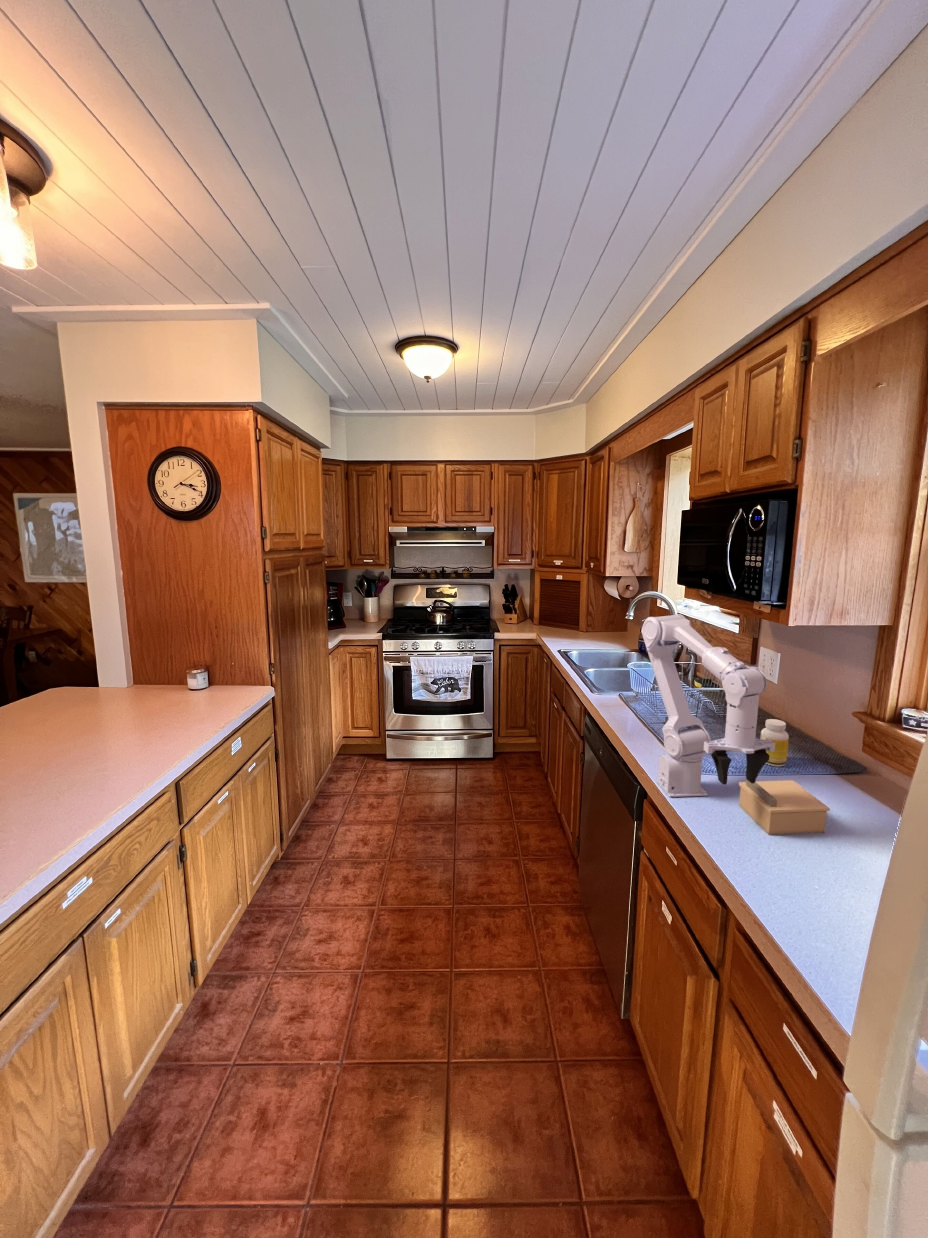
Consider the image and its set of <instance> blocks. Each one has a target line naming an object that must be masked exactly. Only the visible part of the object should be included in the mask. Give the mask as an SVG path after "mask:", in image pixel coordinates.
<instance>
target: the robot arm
mask: <svg viewBox="0 0 928 1238" xmlns="http://www.w3.org/2000/svg"><path fill="white" fill-rule="evenodd" d="M640 632H641V634H642V638H643V642H644V644H645V648H646V650H647V653H648V657H649V660H650V663H651V667H652V670H653V673H654V677H655V679H656V683H657V685H658V689H659V692H660V696H661V698H662V701H663V706H664V708H665V711H666V714H667V718H668V720H667V721H666V722H665V724H664V725H663V726H662V728H661V732H662V735H663V745H664V746H663V747H664V749H665V751H666V753H667V754H662V755H661V756H660V757H659V760H658V774H657V778H656V782H657V784H658V785H659V786H660V787H661V788H662V790H663V791H664V792H665V793H666V795H668V797H671V798H676V797H678V798H681V797H702V796H703V797H705V796H708V792H707V791H706V790H704V788H703V787H702V786H701V785H702V784H701V783H702V768H703V767H702V766H703V758H704V757H705V756H706V753H707V754H708V755H710V756H711V758H712V759H713V763H714V766H715V770H716V773H717V780H718V781H719V782H720V783H721V784H722V785H727V783H728V775H729V774H728V773H729V768H730V764H731V763H732V759H731V758H730V757H729V756H728V753H729V752H730V753H731V752H741V753H744V754H745V756H746V757H745V758H746V766H745V767H746V768H745V769H746V770H745V779H746V780H748V781H749V782H751V783H755V782H757V781H756V780H757V778H758V776H759V773H760V772H761V770H762V768H763V767H764V766H765V765H766V764H765V763H766V762H767V761H768V760H769V757H770V755H769V754H767V753H766V750H768V751H770V752H774V751H775V743H774V742H773V741H771V740H770V739H769V740H765V739H759V738H756V735H757V724H758V722H757V721H758V711H759V703H760V702H759V700H760V694H762V693H764V692H765V691H766V689H767V685H768V681H767V677H766V675H765V674H764V672H763V671H762V670H761V669H760V668H759V667H757V666H748V665H745V663H744V662H743V661H740V660H739V659H737V658H736V657H735V656H733V655H732V653H730V652H729V649H727V648H726V647H721V646H715V647H714V646H713V645H711V643H709V642H708V641H707V640H706V639H705V638H704V637H703V636H702V635H701V634H700V633H699V632H697V630H696V629H694V628H693V627H692V624H691V620H689V619H687V617H685V616H684V615H683V614H681V613H680V614H679V613H676V614H673V615H671V614H670V615H664V616H663V615H662V616H648V617H647V618H645V620H644V622H643V624H642V627H641V631H640ZM680 644H681V645H683V646H684V647H686V648H687V649H689V650H690V651H692V652H693V653H695V655H697V656H699V657H700V658H701V665H702V666H703V667H704V668H705V669H706V670H707V671H709V672H710V673H711V674H712V675H713V676H715V678H717V679H718V680H719V681H720V682H721V685H722V688H723V691H724V693H725V701H726V704H727V705H726V718H725V731H724V738H720V739H719V738H718V739H714V740H711V736H710V733H709V732H708V731H707V729H706V728H705V727H704V724H703V722H702V720H701V719H699V718H698V717H696V716H695V715H693V714H692V713H691V712H692V711H691V709H690V706H689V704H688V700H687V698H686V694H685V691H684V688H683V686H682V682H681V679H680V676H679V672H678V669H677V667H676V663H675V660H674V658H673V652H674V650H675V649H677V647H678V646H679V645H680ZM683 728H684V729H683ZM727 752H728V753H727Z"/></svg>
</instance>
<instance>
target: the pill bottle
mask: <svg viewBox="0 0 928 1238" xmlns="http://www.w3.org/2000/svg"><path fill="white" fill-rule="evenodd" d="M764 724H765V725H764V726H765V727H764V728H762V730H761V731H760V739H765V740H769V739H770V740H771V741H773V742H774V743H775V751H774V752H770V751H768V750H766V753H767V754H769V755H770V757H769V760H768V761H767V762H766V763H765V764H764V765H767V764H768V765H767V766H770V765H771V767H778V768H779V767H783V766H786V765H787V761H788V749H789V740H790V735H789V733H788V732H787V731H786V727H787V723H786V722H785V721H783V720H779V719H773V718H769V719H768V718H767V719H766V720H765V723H764Z"/></svg>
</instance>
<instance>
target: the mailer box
mask: <svg viewBox="0 0 928 1238" xmlns="http://www.w3.org/2000/svg"><path fill="white" fill-rule="evenodd" d="M738 801H739V803H738V807H740V808H741V810H742V811H743V812H745V814H747V815H748V817H750V818H751V819H752V820H753V821H754V822H755V823H756V824H757V825H758V826H759V827H760V828H761V829H762V830H763V832H765V833H766V834H767V835H768V836H771V835H772V836H774V835H799V834H800V835H803V834H822V833H823V834H824V833H825V830H826V823H827V814H828V811H812V812H785V813H770V812H769V811H767V810H766V809H765V808H764V807H763V806H762V805H761V804H760V803H759V802H757V801H756V800H755V799H754V798H753V797H752V796H751V795H750V794H749V793H748V792H746V791H745V790H744V789H743V788H742V787H741V786H740V791H739V800H738Z"/></svg>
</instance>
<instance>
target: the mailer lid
mask: <svg viewBox="0 0 928 1238" xmlns="http://www.w3.org/2000/svg"><path fill="white" fill-rule="evenodd" d="M738 786H740V788H741V787H742V788H743V789H744V790H745V791H746V792H748V793H749V794H750V795H751V796H752V797H753V798H754V799H755V800H756V801H757V802H759V803H760V804H761V805H762V806H763V807H764V808H765V809H766V810H767V811H769V812H770V813H785V812H812V811H827V812H830V811H831V810H830V809H831V808H830V807H829V806H828V805H826V804H825V803H824V802H822V801H821V800H819V799H818V798H816V796H814V795H813V794H812V793H810V792H809V791H808V790H806V789H805V788H803V786H801V785H800V784H798V783H797V782H796V781H794V780H763V781H755V783H751V782H749V781H748V780H747V779H746V781H740V782H738Z"/></svg>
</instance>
